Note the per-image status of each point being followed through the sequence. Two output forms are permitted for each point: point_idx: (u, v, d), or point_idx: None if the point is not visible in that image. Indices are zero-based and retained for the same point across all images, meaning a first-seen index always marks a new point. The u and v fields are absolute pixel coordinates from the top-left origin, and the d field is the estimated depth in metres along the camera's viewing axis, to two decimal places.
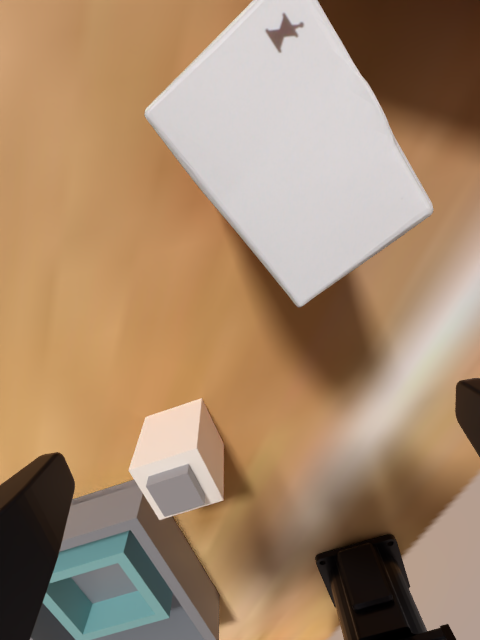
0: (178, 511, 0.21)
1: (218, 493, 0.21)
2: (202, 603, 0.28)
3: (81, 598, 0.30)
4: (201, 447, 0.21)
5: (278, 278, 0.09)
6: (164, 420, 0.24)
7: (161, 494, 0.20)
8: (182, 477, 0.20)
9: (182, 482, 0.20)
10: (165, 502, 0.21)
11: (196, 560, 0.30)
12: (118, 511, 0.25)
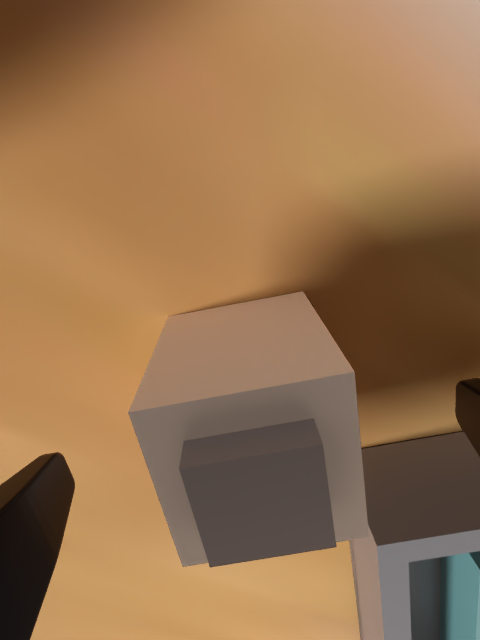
0: (326, 513, 0.07)
1: (321, 381, 0.07)
2: None
3: None
4: (164, 386, 0.07)
5: None
6: None
7: (248, 540, 0.07)
8: (192, 483, 0.06)
9: (213, 486, 0.06)
10: (281, 536, 0.07)
11: None
12: (367, 551, 0.11)
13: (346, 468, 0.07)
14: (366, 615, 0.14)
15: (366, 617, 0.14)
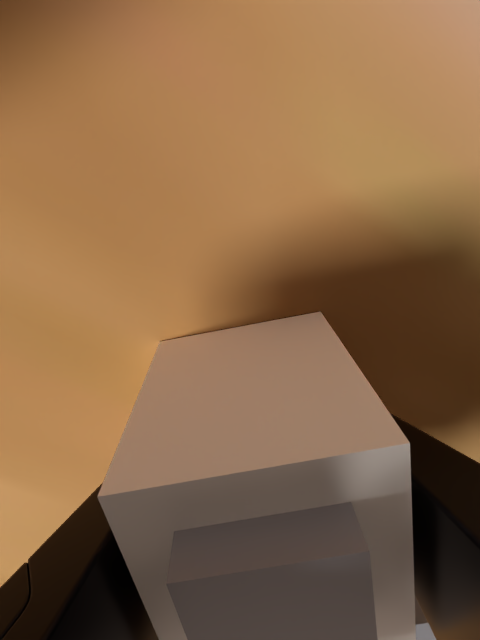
0: (369, 634, 0.05)
1: (363, 456, 0.05)
2: None
3: None
4: (149, 453, 0.05)
5: None
6: None
7: None
8: (185, 601, 0.05)
9: (215, 604, 0.05)
10: None
11: None
12: None
13: (391, 562, 0.05)
14: None
15: None
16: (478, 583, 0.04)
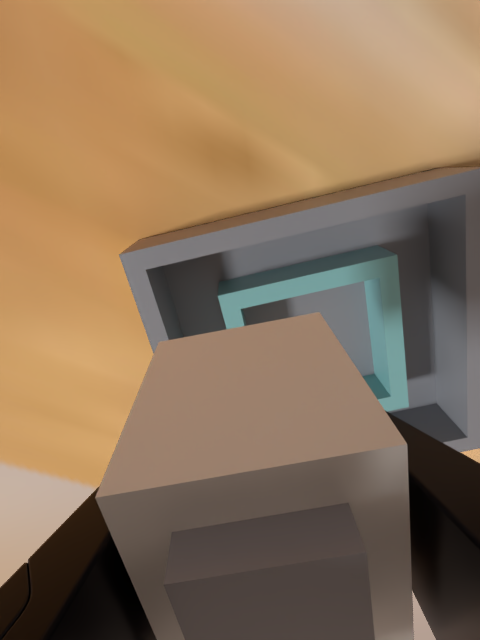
0: (367, 634, 0.05)
1: (361, 457, 0.05)
2: (385, 187, 0.15)
3: None
4: (147, 455, 0.05)
5: None
6: None
7: None
8: (182, 601, 0.05)
9: (212, 605, 0.05)
10: None
11: (330, 194, 0.17)
12: None
13: (389, 562, 0.05)
14: None
15: None
16: (478, 583, 0.04)
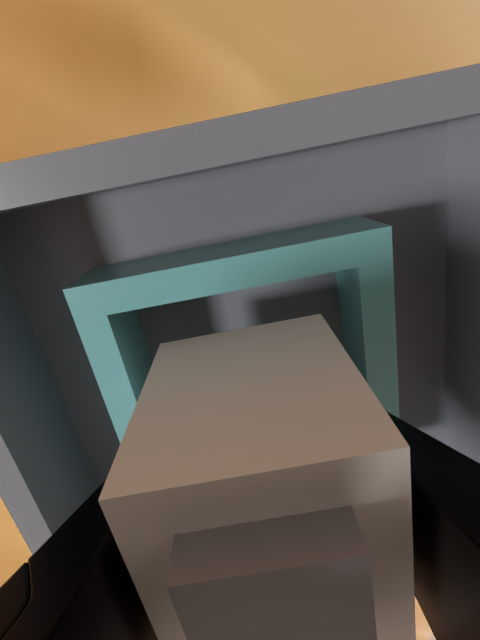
0: (369, 637, 0.05)
1: (363, 459, 0.05)
2: None
3: None
4: (150, 457, 0.05)
5: None
6: None
7: None
8: (185, 604, 0.05)
9: (215, 608, 0.05)
10: None
11: None
12: None
13: (391, 565, 0.05)
14: None
15: None
16: (478, 583, 0.04)
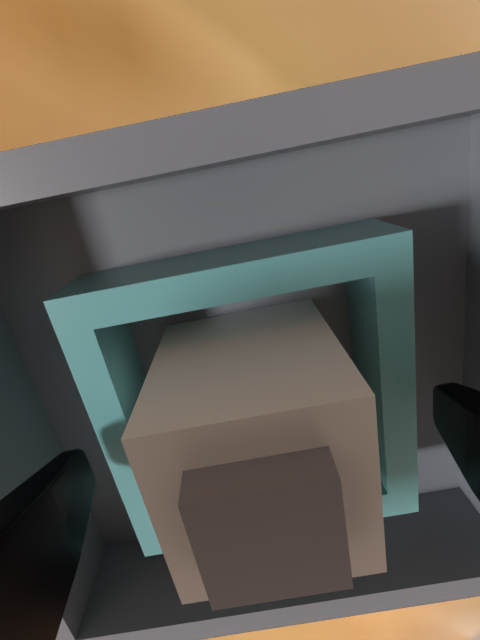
0: (343, 553, 0.06)
1: (337, 406, 0.06)
2: None
3: None
4: (162, 409, 0.06)
5: None
6: None
7: (255, 582, 0.06)
8: (193, 521, 0.06)
9: (216, 525, 0.06)
10: (291, 578, 0.06)
11: None
12: None
13: (363, 499, 0.07)
14: None
15: None
16: None
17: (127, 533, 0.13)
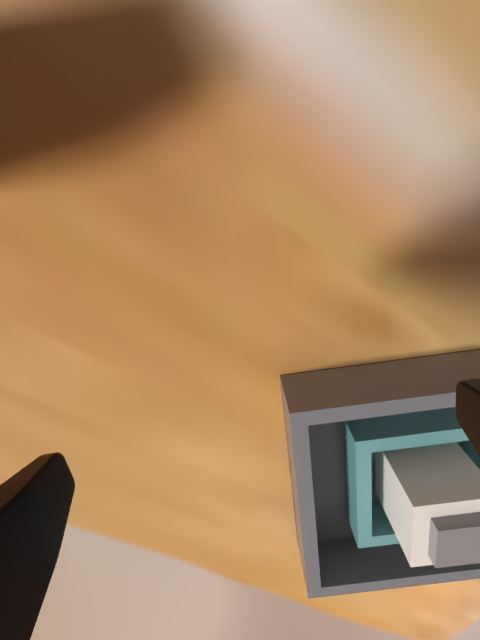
0: None
1: None
2: None
3: None
4: (419, 494, 0.18)
5: None
6: (382, 486, 0.21)
7: (453, 558, 0.17)
8: (441, 536, 0.17)
9: (448, 538, 0.17)
10: (466, 557, 0.17)
11: (448, 355, 0.20)
12: (289, 427, 0.19)
13: None
14: (293, 484, 0.21)
15: (293, 486, 0.22)
16: None
17: (324, 536, 0.24)
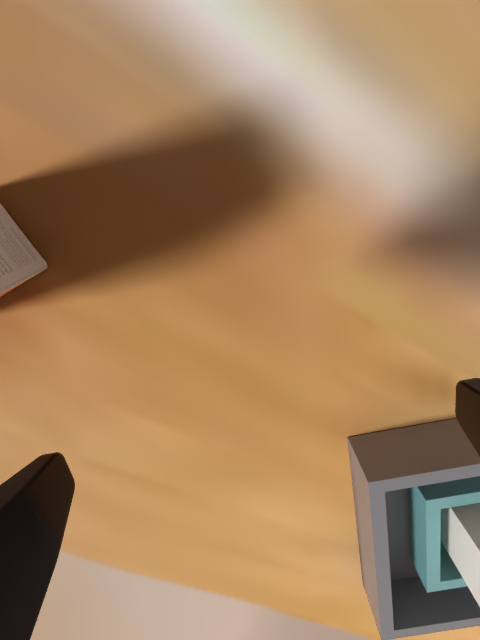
0: None
1: None
2: None
3: None
4: None
5: None
6: (447, 534, 0.23)
7: None
8: None
9: None
10: None
11: None
12: (363, 490, 0.20)
13: None
14: (363, 535, 0.23)
15: (363, 537, 0.23)
16: None
17: None
